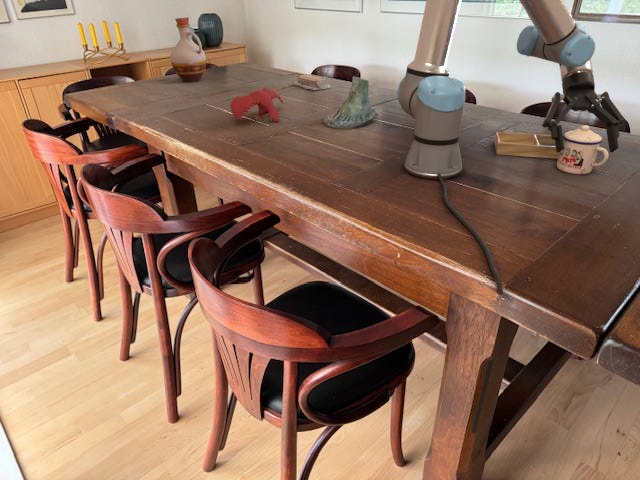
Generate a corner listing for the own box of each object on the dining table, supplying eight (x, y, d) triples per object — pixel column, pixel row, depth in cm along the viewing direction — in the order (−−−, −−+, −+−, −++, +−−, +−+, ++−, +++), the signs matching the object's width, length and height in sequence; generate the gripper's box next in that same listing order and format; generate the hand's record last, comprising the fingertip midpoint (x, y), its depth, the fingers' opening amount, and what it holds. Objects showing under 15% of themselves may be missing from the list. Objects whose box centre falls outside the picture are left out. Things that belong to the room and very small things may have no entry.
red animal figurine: (289, 122, 182) (266, 91, 181) (302, 108, 175) (279, 76, 174) (244, 142, 161) (218, 107, 160) (258, 127, 155) (231, 91, 154)
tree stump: (314, 119, 171) (323, 69, 164) (360, 126, 179) (371, 79, 172) (333, 130, 155) (344, 75, 149) (382, 136, 163) (395, 85, 157)
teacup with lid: (548, 167, 124) (558, 125, 118) (567, 160, 128) (578, 119, 122) (591, 181, 115) (605, 136, 109) (610, 173, 119) (624, 129, 113)
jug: (218, 79, 239) (210, 16, 224) (193, 85, 226) (183, 19, 211) (192, 76, 249) (182, 15, 233) (166, 82, 236) (155, 18, 220)
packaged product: (330, 77, 213) (313, 80, 208) (330, 88, 215) (313, 91, 211) (310, 72, 226) (292, 74, 221) (310, 82, 228) (293, 85, 224)
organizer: (578, 160, 128) (581, 148, 126) (496, 154, 133) (498, 143, 132) (570, 147, 137) (573, 136, 136) (494, 142, 143) (496, 131, 141)
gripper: (616, 86, 126) (628, 156, 121) (525, 87, 127) (532, 156, 122) (633, 69, 119) (646, 143, 113) (535, 70, 120) (544, 143, 115)
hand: (587, 150), depth 118 cm, fingers open, 13 cm apart
